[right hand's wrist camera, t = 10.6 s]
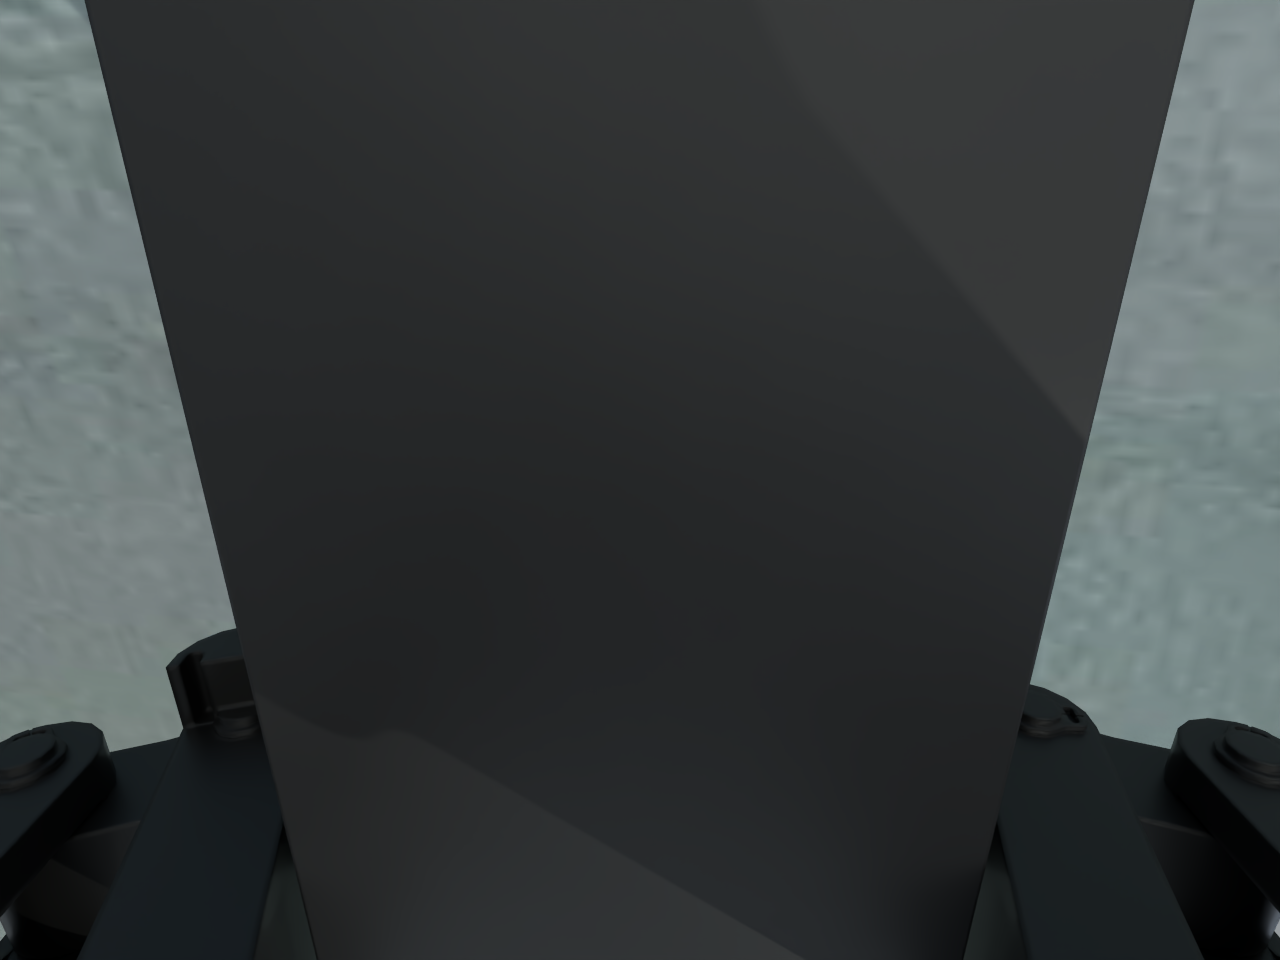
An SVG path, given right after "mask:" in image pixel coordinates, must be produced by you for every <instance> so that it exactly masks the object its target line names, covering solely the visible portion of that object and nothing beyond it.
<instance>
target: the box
mask: <svg viewBox="0 0 1280 960" xmlns="http://www.w3.org/2000/svg"><path fill="white" fill-rule="evenodd" d="M85 4H86V8H87V12H88V16H89V20H90V25H91V29H92V33H93V37H94V41H95V45H96V49H97V53H98V58H99V62H100V66H101V70H102V74H103V78H104V82H105V87H106V91H107V95H108V99H109V103H110V107H111V111H112V116H113V120H114V124H115V128H116V132H117V136H118V140H119V144H120V149H121V153H122V157H123V161H124V165H125V169H126V173H127V177H128V182H129V186H130V190H131V194H132V198H133V202H134V206H135V211H136V215H137V219H138V223H139V227H140V231H141V235H142V240H143V244H144V248H145V252H146V256H147V260H148V264H149V268H150V273H151V277H152V281H153V285H154V289H155V293H156V297H157V302H158V306H159V310H160V314H161V318H162V322H163V326H164V330H165V335H166V339H167V343H168V347H169V351H170V355H171V359H172V364H173V368H174V372H175V376H176V380H177V384H178V388H179V392H180V397H181V401H182V405H183V409H184V413H185V417H186V421H187V426H188V430H189V434H190V438H191V442H192V446H193V450H194V454H195V459H196V463H197V467H198V471H199V475H200V479H201V483H202V488H203V492H204V496H205V500H206V504H207V508H208V512H209V516H210V521H211V525H212V529H213V533H214V537H215V541H216V545H217V550H218V554H219V558H220V562H221V566H222V570H223V574H224V578H225V583H226V587H227V591H228V595H229V599H230V603H231V607H232V612H233V616H234V620H235V624H236V628H237V632H238V636H239V640H240V645H241V649H242V653H243V657H244V661H245V665H246V669H247V674H248V678H249V682H250V686H251V690H252V694H253V698H254V702H255V707H256V711H257V715H258V719H259V723H260V727H261V731H262V736H263V740H264V744H265V748H266V752H267V756H268V760H269V764H270V769H271V773H272V777H273V781H274V785H275V789H276V793H277V798H278V802H279V806H280V810H281V814H282V818H283V822H284V826H285V831H286V835H287V839H288V843H289V847H290V851H291V855H292V860H293V864H294V868H295V872H296V876H297V880H298V884H299V888H300V893H301V897H302V901H303V905H304V909H305V913H306V917H307V922H308V926H309V930H310V934H311V938H312V942H313V946H314V950H315V955H316V959H317V960H963V959H964V955H965V950H966V946H967V942H968V938H969V934H970V930H971V925H972V921H973V917H974V913H975V909H976V905H977V901H978V896H979V892H980V888H981V884H982V880H983V876H984V872H985V867H986V863H987V859H988V855H989V851H990V847H991V842H992V838H993V834H994V830H995V826H996V822H997V818H998V813H999V809H1000V805H1001V801H1002V797H1003V793H1004V789H1005V784H1006V780H1007V776H1008V772H1009V768H1010V764H1011V760H1012V755H1013V751H1014V747H1015V743H1016V739H1017V735H1018V730H1019V726H1020V722H1021V718H1022V714H1023V710H1024V706H1025V701H1026V697H1027V693H1028V689H1029V685H1030V681H1031V677H1032V672H1033V668H1034V664H1035V660H1036V656H1037V652H1038V647H1039V643H1040V639H1041V635H1042V631H1043V627H1044V623H1045V618H1046V614H1047V610H1048V606H1049V602H1050V598H1051V594H1052V589H1053V585H1054V581H1055V577H1056V573H1057V569H1058V565H1059V560H1060V556H1061V552H1062V548H1063V544H1064V540H1065V535H1066V531H1067V527H1068V523H1069V519H1070V515H1071V511H1072V506H1073V502H1074V498H1075V494H1076V490H1077V486H1078V482H1079V477H1080V473H1081V469H1082V465H1083V461H1084V457H1085V452H1086V448H1087V444H1088V440H1089V436H1090V432H1091V428H1092V423H1093V419H1094V415H1095V411H1096V407H1097V403H1098V399H1099V394H1100V390H1101V386H1102V382H1103V378H1104V374H1105V369H1106V365H1107V361H1108V357H1109V353H1110V349H1111V345H1112V340H1113V336H1114V332H1115V328H1116V324H1117V320H1118V316H1119V311H1120V307H1121V303H1122V299H1123V295H1124V291H1125V287H1126V282H1127V278H1128V274H1129V270H1130V266H1131V262H1132V257H1133V253H1134V249H1135V245H1136V241H1137V237H1138V233H1139V228H1140V224H1141V220H1142V216H1143V212H1144V208H1145V204H1146V199H1147V195H1148V191H1149V187H1150V183H1151V179H1152V174H1153V170H1154V166H1155V162H1156V158H1157V154H1158V150H1159V145H1160V141H1161V137H1162V133H1163V129H1164V125H1165V121H1166V116H1167V112H1168V108H1169V104H1170V100H1171V96H1172V92H1173V87H1174V83H1175V79H1176V75H1177V71H1178V67H1179V62H1180V58H1181V54H1182V50H1183V46H1184V42H1185V38H1186V33H1187V29H1188V25H1189V21H1190V17H1191V13H1192V9H1193V4H1194V0H85Z"/></svg>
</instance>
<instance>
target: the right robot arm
mask: <svg viewBox="0 0 1280 960" xmlns="http://www.w3.org/2000/svg"><path fill="white" fill-rule="evenodd" d="M166 670H167V674H168V677H169V680H170V684H171V687H172V691H173V694H174V698H175V701H176V704H177V708H178V711H179V715H180V718H181V722H182V725H183V730H182V732H181V734H180V737H177V738H174V739H170V740H166V741H161V742H157V743H152V744H147V745H142V746H138V747H133V748H128V749H123V750H118V751H114V752H109V749H108V746H107V743H106V740H105V737H104V734H103V731H101V730H100V729H98V728H97V727H96V726H94V725H93V724H91V723H82V722H73V721H71V722H64V723H57V724H51V725H45V726H40V727H36V728H33V729H32V730H26V731H24V732H21V733H18V734H15V735H13V736H12V737H10V738H9V739H7V740H5V741H3V742H0V921H1V923H2V925H3V928H4V930H5V932H6V935H5V936H4V937H3V939H2V940H1V941H0V960H317V959H316V955H315V950H314V946H313V942H312V938H311V934H310V930H309V926H308V922H307V917H306V913H305V909H304V905H303V901H302V897H301V893H300V888H299V884H298V880H297V876H296V872H295V868H294V864H293V860H292V855H291V851H290V847H289V843H288V839H287V835H286V831H285V826H284V822H283V818H282V814H281V810H280V806H279V802H278V798H277V793H276V789H275V785H274V781H273V777H272V773H271V769H270V764H269V760H268V756H267V752H266V748H265V744H264V740H263V736H262V731H261V727H260V723H259V719H258V715H257V711H256V707H255V702H254V698H253V694H252V690H251V686H250V682H249V678H248V674H247V669H246V665H245V661H244V657H243V653H242V649H241V645H240V640H239V636H238V632H237V628H236V629H231V630H227V631H223V632H220V633H217V634H215V635H212V636H210V637H207V638H205V639H202V640H200V641H197V642H196V643H194V644H193V645H191V646H190V647H188V648H186V649H185V650H183V651H182V652H180V653H178V654H177V656H176V657H175V658H174V659H173V660H172V661H171V662H170V663H169V664H168V666H167V667H166ZM1279 920H1280V739H1279V738H1277V737H1275V736H1272V735H1271V734H1269V733H1268V732H1266V731H1263V730H1260V729H1258V728H1255V727H1249V726H1248V725H1245V724H1241V723H1237V722H1231V721H1224V720H1218V719H1211V718H1206V719H1196V720H1189V721H1187V722H1186V723H1184V724H1183V725H1182V726H1180V727H1179V728H1178V730H1177V732H1176V735H1175V738H1174V741H1173V744H1172V747H1171V749H1167V748H1162V747H1157V746H1152V745H1147V744H1143V743H1138V742H1133V741H1128V740H1123V739H1119V738H1114V737H1110V736H1106V735H1103V734H1100V733H1099V731H1098V729H1097V727H1096V726H1095V724H1094V723H1093V722H1092V720H1091V719H1090V718H1089V716H1088V715H1087V714H1086V712H1084V711H1083V710H1082V709H1080V708H1079V707H1078V706H1076V705H1075V704H1074V703H1072V702H1071V701H1069V700H1068V699H1067V698H1064V697H1062V696H1060V695H1058V694H1056V693H1054V692H1052V691H1049V690H1047V689H1045V688H1042V687H1038V686H1034V685H1031V684H1030V685H1029V689H1028V693H1027V697H1026V701H1025V706H1024V710H1023V714H1022V718H1021V722H1020V726H1019V730H1018V735H1017V739H1016V743H1015V747H1014V751H1013V755H1012V760H1011V764H1010V768H1009V772H1008V776H1007V780H1006V784H1005V789H1004V793H1003V797H1002V801H1001V805H1000V809H999V813H998V818H997V822H996V826H995V830H994V834H993V838H992V842H991V847H990V851H989V855H988V859H987V863H986V867H985V872H984V876H983V880H982V884H981V888H980V892H979V896H978V901H977V905H976V909H975V913H974V917H973V921H972V925H971V930H970V934H969V938H968V942H967V946H966V950H965V955H964V959H963V960H1280V937H1279V936H1278V935H1277V934H1276V933H1275V931H1274V930H1275V928H1276V926H1277V924H1278V922H1279Z"/></svg>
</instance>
